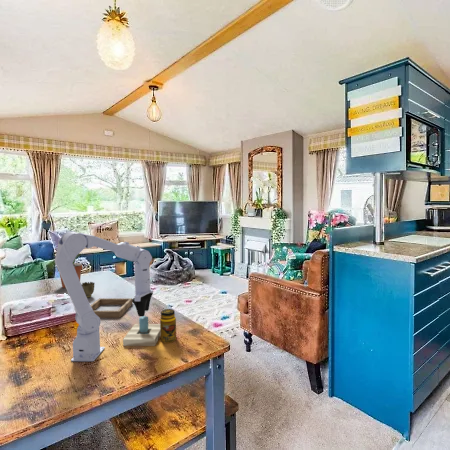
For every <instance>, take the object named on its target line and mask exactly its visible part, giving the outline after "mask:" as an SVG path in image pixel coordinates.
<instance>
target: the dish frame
mask: <svg viewBox="0 0 450 450" xmlns="http://www.w3.org/2000/svg"><path fill="white" fill-rule="evenodd" d="M132 299H133V298H132V297H131V298H129V297H128V298H126V297H124V298H123V297H122V298H110V297H108V298H107V297H106V298H105V297H104V298H101V297H100V298H98V299H97V300H95V301H94V302H93V303H91V304H90V306H91V307H92V309H93V311H94V313H95V314H96V315H97V316H98V317H99V318H100V319H103V318H104V319H106V318H107V319H119V318H120V319H121V317H122V316H123V315H124V314H125V313H126V311H128V310H129V308H131V306H132V305H134V303H133V302H132ZM102 305H103V306H116V305H117V306H121V307H120V308H119V309H117V310H97V309H98V308H99V307H100V306H102Z"/></svg>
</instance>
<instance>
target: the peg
mask: <svg viewBox="0 0 450 450" xmlns="http://www.w3.org/2000/svg"><path fill="white" fill-rule="evenodd" d="M138 324H139V329H140V331H139V332H140V334H148V331H149V330H148V324H149V317H148V316H146V315H144V316H139V318H138Z"/></svg>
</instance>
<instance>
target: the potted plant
mask: <svg viewBox="0 0 450 450" xmlns="http://www.w3.org/2000/svg"><path fill="white" fill-rule="evenodd" d="M82 254H83V252H81V253H79V254H78V255H77V256H76V257H75V259H74V261H73V266H74V268H75V270H76V273H77V275H78V278H79V280H80V281H81V274H82V270H83V264H82V263H78V262H75V261H76V260H77V258H79V257H80V256H82ZM59 277H60V278H59V279H60V282H61V286H62V287H61V288H63V289H66V287H65V284H64V282H63V280H62V278H61V275H60V274H59Z"/></svg>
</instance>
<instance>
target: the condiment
mask: <svg viewBox="0 0 450 450" xmlns="http://www.w3.org/2000/svg"><path fill="white" fill-rule="evenodd" d="M175 313H176V312H175V310H174V309H172V308H166V309H163V310H161V311H160V319H159V324H160V333H161V335H160V341H161V343H163V344H164V343H165V344H169V343H173V342H176V340H177V317H176V314H175Z"/></svg>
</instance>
